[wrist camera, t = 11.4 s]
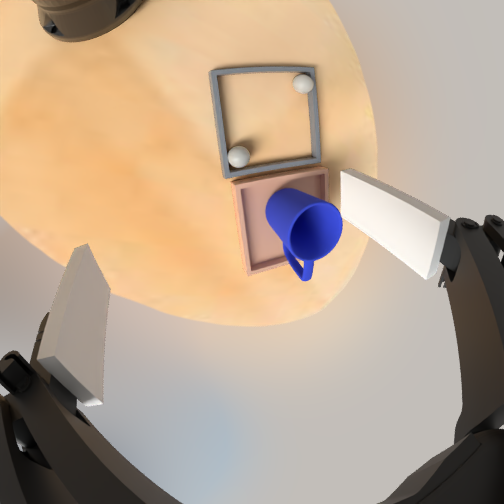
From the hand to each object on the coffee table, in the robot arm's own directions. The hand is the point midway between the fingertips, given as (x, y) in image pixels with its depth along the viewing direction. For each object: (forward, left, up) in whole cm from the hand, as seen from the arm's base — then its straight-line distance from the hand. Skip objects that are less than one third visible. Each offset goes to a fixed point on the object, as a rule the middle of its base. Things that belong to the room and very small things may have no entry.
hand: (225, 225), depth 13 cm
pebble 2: (-8, +18, -25) cm, 32 cm away
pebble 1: (+1, +8, -25) cm, 26 cm away
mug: (+13, +14, -25) cm, 31 cm away
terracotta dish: (+13, +14, -25) cm, 31 cm away
